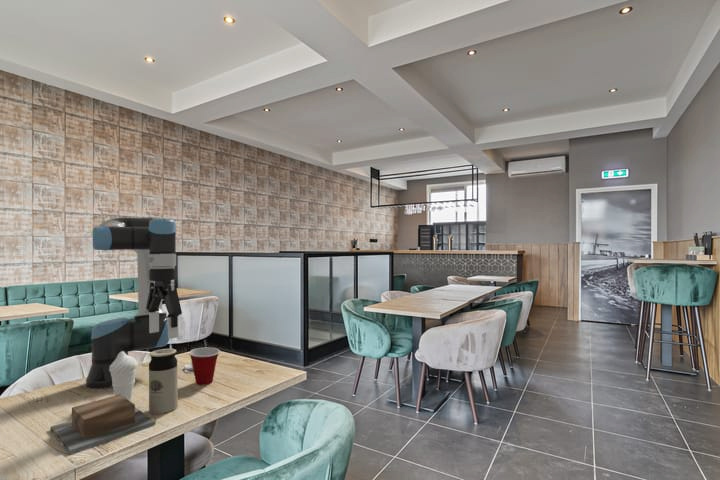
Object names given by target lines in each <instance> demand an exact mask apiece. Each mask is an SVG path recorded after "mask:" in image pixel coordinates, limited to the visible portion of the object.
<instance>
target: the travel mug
mask: <svg viewBox="0 0 720 480" xmlns="http://www.w3.org/2000/svg"><path fill="white" fill-rule="evenodd" d="M176 353H177V349H175V348H163V349H157V350H153V351H151V352H150V353H149V356H150V358H151V359H150V362H149V363H148V402H149V403H148V411H149V412H150V414H155V415H160V414H166V413H169V412H172V411H174V410H175V409H176V408H178V401H179V400H178V359H177V357H176Z"/></svg>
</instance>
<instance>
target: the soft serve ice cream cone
mask: <svg viewBox="0 0 720 480" xmlns="http://www.w3.org/2000/svg"><path fill="white" fill-rule="evenodd" d="M138 366H139V365H138V360H136V358H135V357H133V356H131V355H129V354H128V355H126V354H125V353H124V352H123V351H122V352H120V353H119V354H118V356H117V357H116V360H115V361H114V362H113V363H112V364H111V365H110V366H109V367H110V369H109V371H110V372H111V376H112V386H113V387H112V388H113V391H114V392H113V393H114V396H116V395H119V394H120V395H121V396H123V397H124V398H126V399H127V400H129V401H130V400H131V398H132V397H133V390H134V386H135V383H136V373H137V368H138Z"/></svg>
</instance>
